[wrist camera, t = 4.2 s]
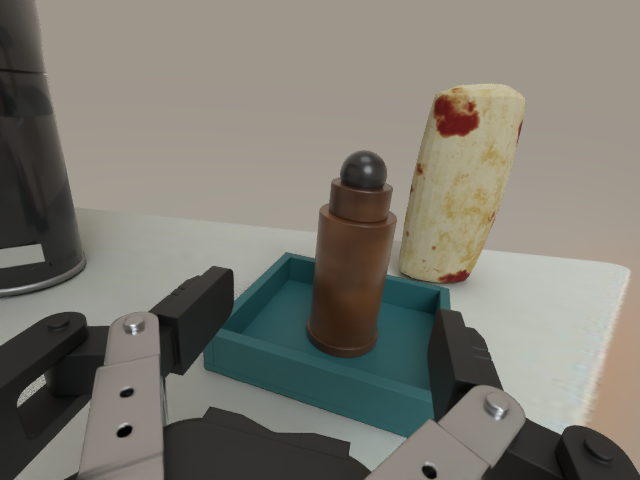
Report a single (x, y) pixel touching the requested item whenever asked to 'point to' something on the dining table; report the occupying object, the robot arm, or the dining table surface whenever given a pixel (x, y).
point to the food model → (459, 180)
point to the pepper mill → (352, 258)
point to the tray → (325, 370)
